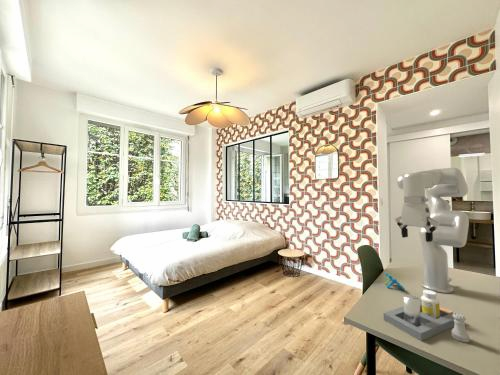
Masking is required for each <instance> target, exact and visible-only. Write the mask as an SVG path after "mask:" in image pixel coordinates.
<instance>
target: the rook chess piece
mask: <svg viewBox="0 0 500 375" xmlns="http://www.w3.org/2000/svg"><path fill="white" fill-rule="evenodd" d="M453 313H454V314H453V315H452V316H453V317H454V322H455V325H454V326H453V327H452V329H451V336H452V338H454V339H455V340H457V341H458V342H461V343H469V342H470V341H471V339H470V335H469V334H468V332H467V330H466V326H465V325H466V322H465V321H466V320H467V318H466V317H465V315H464V314H463V313H459V312H454V311H453Z"/></svg>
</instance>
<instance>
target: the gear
mask: <svg viewBox="0 0 500 375" xmlns="http://www.w3.org/2000/svg"><path fill="white" fill-rule="evenodd" d="M384 274H385V276H386V278H387V281H385V282H384V284H385V285H387V286H386V288H388V289H389V288H390V287H391V286H393V285H394V284H395V285H396V286H398V287H399V288H400V289H401V290H403V291H404V290H405V287H404V286H402V285H401V284H400V283H399V282H398V281H397V279H396V278H394V277H392V276H391V275H390V274H389V273H387V272H385V273H384Z"/></svg>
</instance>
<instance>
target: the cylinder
mask: <svg viewBox="0 0 500 375" xmlns="http://www.w3.org/2000/svg"><path fill="white" fill-rule="evenodd" d="M420 299H421V298H419V297H417V296H416V295H413V294H403V295H402V301H403V302H402V304H403V305H402V307H404V318H403V320H405V321H407V322H408V323H410V324H412V325H414V326H416V327H419V326H421V325H422V323H421V314H420Z"/></svg>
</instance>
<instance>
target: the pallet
mask: <svg viewBox="0 0 500 375" xmlns="http://www.w3.org/2000/svg"><path fill="white" fill-rule="evenodd" d="M439 307H440V318H438V319H435V318H432V317H430V316H428V315H426V314H424V313H422V302H421V300H420V314H421V326H419V327H416V326H414V325H412V324H410V323H408V322H407V321H405V320H404V307H403V306H400V307H398V308H395V309H392V310H389V311H385V312H383V321H385V322H387V323H389V324H391V325H393V326H394V327H396V328H398V329H400V330H401V331H402V332H404V333H407V334H408V335H410V336H412V337H413V338H415V339H416V340H418V341H420V342H422V341H424V340H427V339H429V338H431V337H433V336H435V335H437V334H441V333H442V332H444V331H446V330H449V329H451V328H454V325H455V322H454V317H453V316H452V315H453V314H454V311H452V310H449V309H447V308H445V307H442V306H440V305H439Z"/></svg>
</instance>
